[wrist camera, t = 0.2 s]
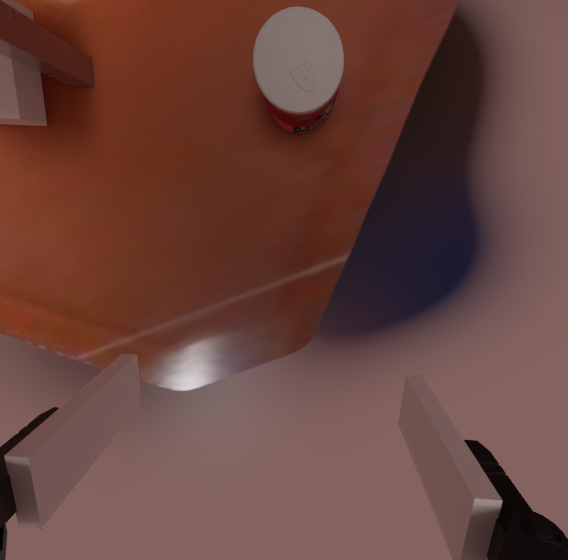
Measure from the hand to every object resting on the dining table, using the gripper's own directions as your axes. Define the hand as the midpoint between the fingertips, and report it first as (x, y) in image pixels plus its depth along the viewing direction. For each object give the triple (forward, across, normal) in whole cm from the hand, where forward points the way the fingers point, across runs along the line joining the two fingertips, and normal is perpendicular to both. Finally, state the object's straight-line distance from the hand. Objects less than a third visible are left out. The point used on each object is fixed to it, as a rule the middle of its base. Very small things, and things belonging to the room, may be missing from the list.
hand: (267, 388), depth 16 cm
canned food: (+28, 0, +20) cm, 34 cm away
